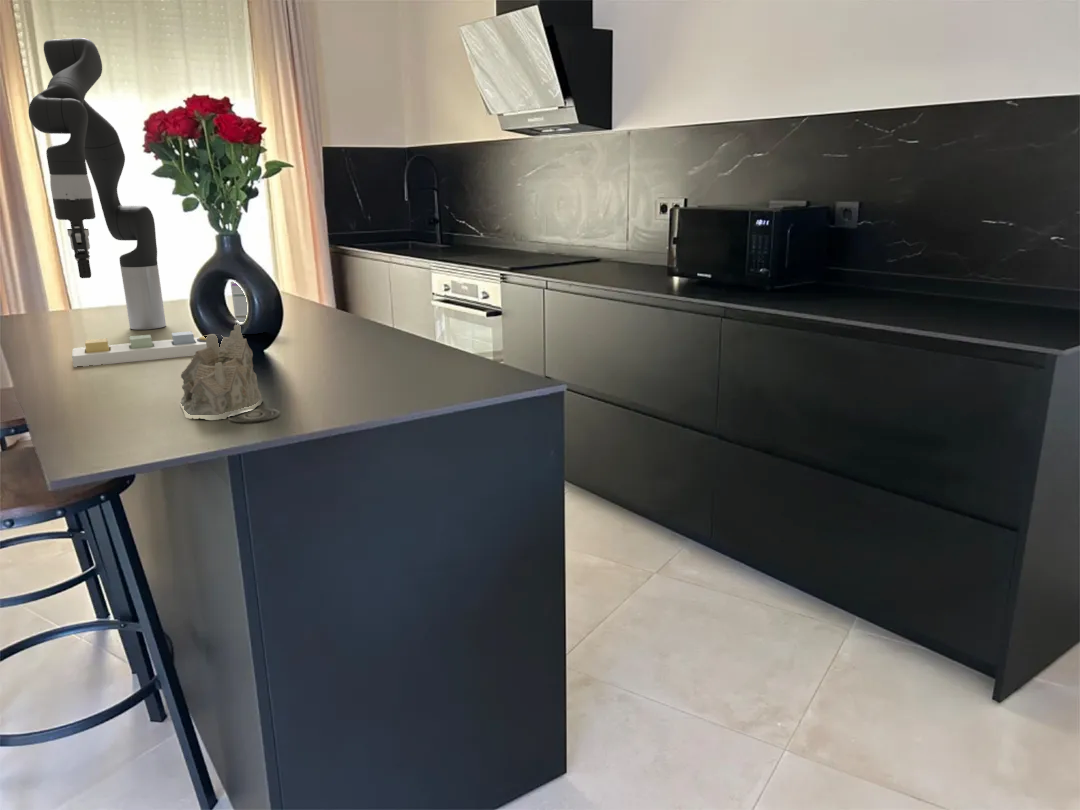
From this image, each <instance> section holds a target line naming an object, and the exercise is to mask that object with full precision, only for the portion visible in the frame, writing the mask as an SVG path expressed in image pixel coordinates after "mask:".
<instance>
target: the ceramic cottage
mask: <svg viewBox="0 0 1080 810" xmlns="http://www.w3.org/2000/svg"><path fill="white" fill-rule="evenodd" d="M216 335H217V334H215V333H210V334H207V335H206V336H207V337H206V345H207V348H205V349H202V350H198V351H196V353H195V355H194V356H192V358H191V362H190V363H189V364H188V365H187V366H186V368H185V369H184V370H183V371H182V372H181V373H180V378H181V379H182V380H183V381H182V383H183V385H181V387H182V388H181V389H182V390H183V392H184V393H183V396H182V398H181V401H180V403H181V404H182V406H184V410H185V411H186V412H187V413H188V414H190V415H219V414H223V413H225V412H230V411H234V410H238V409H241V408H244V407H249V406H252V405H254V404H256V403H257V402H258V401H259V400H260V399H261V398H262V397H263V396H262V394H261V391H260V389H259V386H258V379H257V373H255V372H254V369H253V368H254V364H253V363H254V362H253V357H254V354H253V350H252V349H251V347H250V346H249V344H248V341H247V338H244V337H243V336H244V335H242V333H241V326H240V325H238V324H237V325H236V324H234V326H233V330H231V331H230V334H229V336H222V337H223V339H222V341H221V344H220V348H219V343H218V338H217V336H216ZM262 399H263V398H262Z"/></svg>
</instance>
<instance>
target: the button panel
mask: <svg viewBox="0 0 1080 810" xmlns="http://www.w3.org/2000/svg"><path fill="white" fill-rule="evenodd" d="M204 336H205V335H203V336H197V337H195V336H194V343H190V344H179V345H173V339H162V340H161V339H160V340H152V346H153V347H147V348H136V349H131V343H130V342H129V343H128V342H127V343H118V344H115V343H114V344H108V346H109V351H103V352H92V353H87V352H86V346H83V347H82V346H81V347H72V348H73V349H72V352H71V353H72V355H71V358H72V359H71V360H72V364H73V368H78V367H77V366H83V367H90V366H89V365H93V366H101V364H103V365H111V364H122V363H132V362H133V363H134V362H141V361H154V360H162V359H172V358H184V357H193V356H194V355H195V353H196V351H198V350H202V349H205V348H207V345H206V338H205V337H204ZM219 348H220V347H219Z"/></svg>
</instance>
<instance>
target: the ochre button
mask: <svg viewBox="0 0 1080 810" xmlns="http://www.w3.org/2000/svg"><path fill="white" fill-rule="evenodd" d="M84 341H85V343H84V344H85V345H84V347H86V352H87V353H92V352H103V351H109V346H108V345H109V341H108V338H106V337H105V338H97V339H96V338H94V339H85V340H84Z"/></svg>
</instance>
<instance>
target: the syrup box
mask: <svg viewBox="0 0 1080 810" xmlns="http://www.w3.org/2000/svg"><path fill="white" fill-rule="evenodd" d="M233 281H234V280H233ZM233 281H230V282H229V283H230V291H231V296H232V305H233V312H234V313H233V314H234V319H235V318H236V319H237V320H238V321H239V322H244V321H245V319H246V315H247V302H246V297H245V295H244V293H243V291H242V290H241V288H240V287H239V286H238V285H237V284H236V283H234V282H233Z"/></svg>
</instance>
